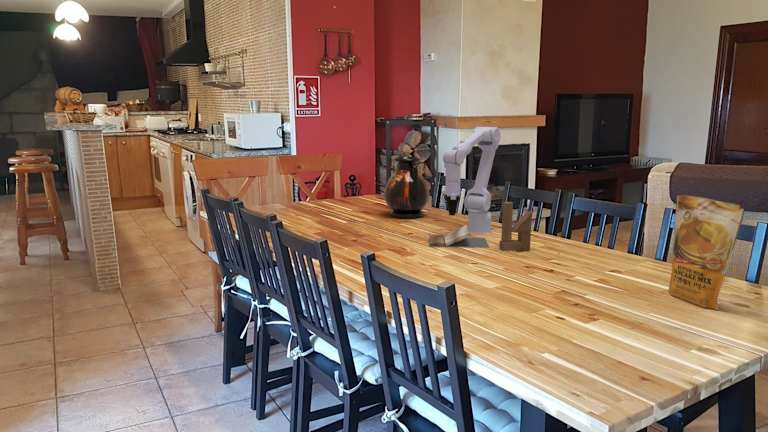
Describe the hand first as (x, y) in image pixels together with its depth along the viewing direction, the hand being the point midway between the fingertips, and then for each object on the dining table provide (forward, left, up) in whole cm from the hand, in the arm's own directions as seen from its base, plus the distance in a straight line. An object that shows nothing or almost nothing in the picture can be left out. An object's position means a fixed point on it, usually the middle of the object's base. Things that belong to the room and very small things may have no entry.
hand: (452, 215), depth 226 cm
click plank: (-2, +6, -7) cm, 10 cm away
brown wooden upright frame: (-22, +15, -10) cm, 29 cm away
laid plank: (+6, +6, -10) cm, 13 cm away
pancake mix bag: (-62, +68, -10) cm, 93 cm away
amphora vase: (+19, -50, -10) cm, 54 cm away
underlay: (-2, +6, -10) cm, 12 cm away
